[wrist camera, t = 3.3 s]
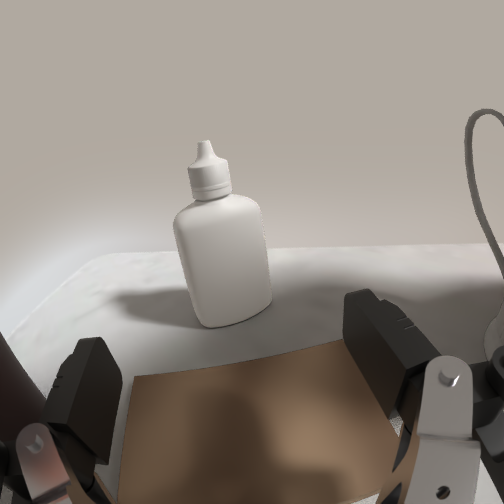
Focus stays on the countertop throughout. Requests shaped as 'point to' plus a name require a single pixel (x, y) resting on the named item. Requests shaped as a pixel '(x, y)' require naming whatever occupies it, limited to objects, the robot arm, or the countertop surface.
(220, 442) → the walnut board
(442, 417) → the robot arm
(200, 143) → the eye dropper bottle
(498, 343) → the glass holder
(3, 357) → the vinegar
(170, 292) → the countertop surface
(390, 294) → the countertop surface
